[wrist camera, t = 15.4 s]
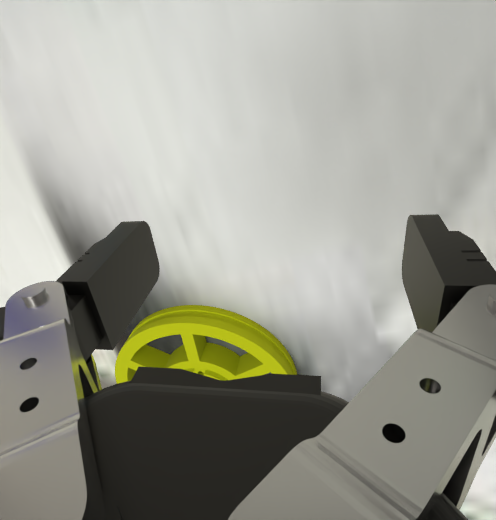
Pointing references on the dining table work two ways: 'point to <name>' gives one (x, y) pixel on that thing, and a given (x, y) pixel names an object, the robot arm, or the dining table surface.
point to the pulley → (204, 345)
